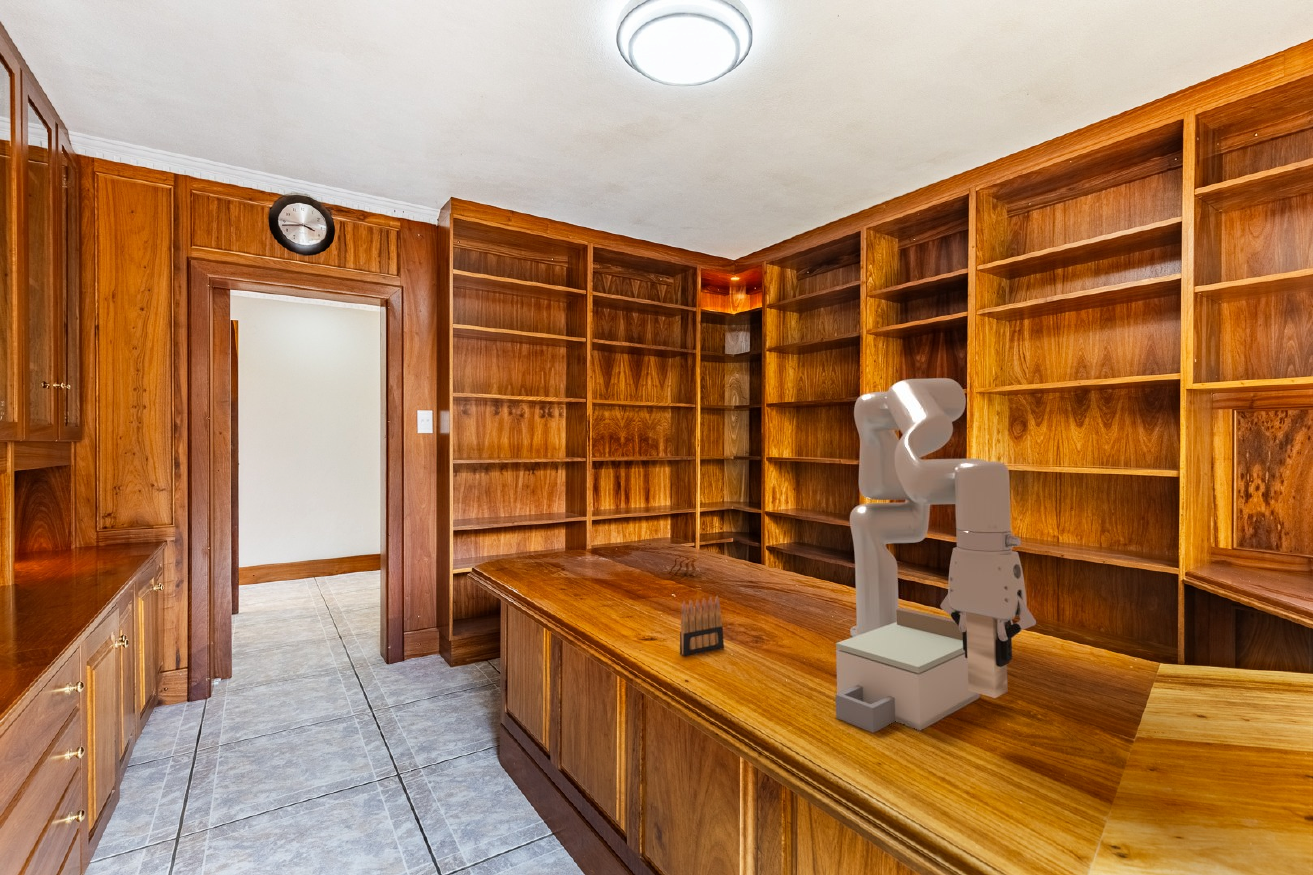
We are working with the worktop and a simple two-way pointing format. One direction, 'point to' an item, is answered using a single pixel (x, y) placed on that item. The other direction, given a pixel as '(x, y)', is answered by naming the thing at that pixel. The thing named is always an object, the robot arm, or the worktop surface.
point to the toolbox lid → (909, 641)
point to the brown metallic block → (984, 657)
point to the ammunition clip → (701, 628)
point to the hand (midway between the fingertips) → (987, 659)
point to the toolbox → (899, 692)
